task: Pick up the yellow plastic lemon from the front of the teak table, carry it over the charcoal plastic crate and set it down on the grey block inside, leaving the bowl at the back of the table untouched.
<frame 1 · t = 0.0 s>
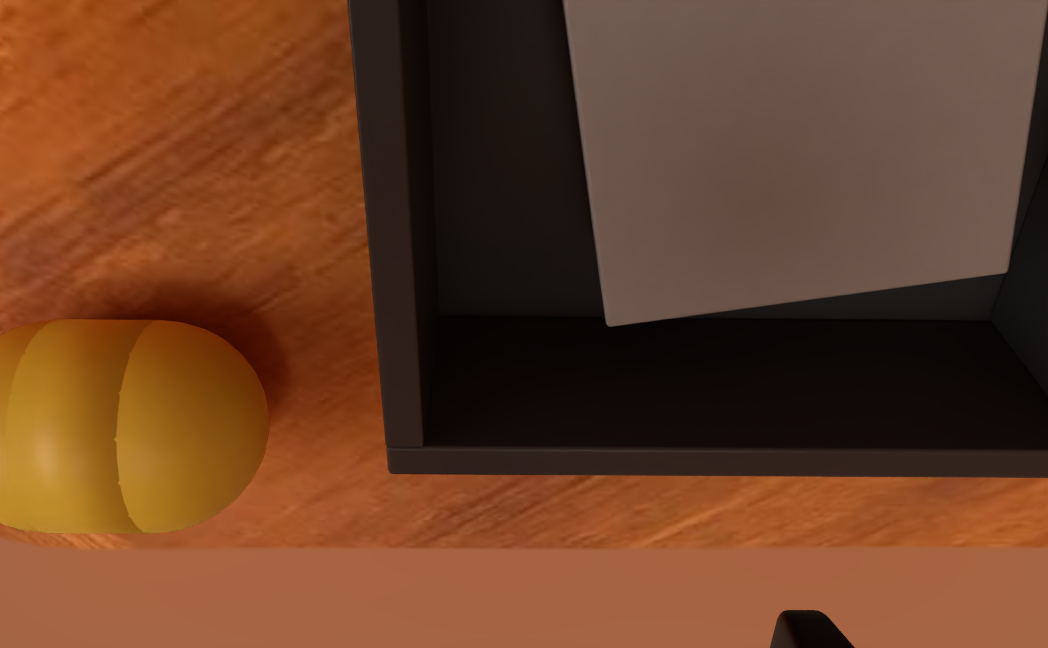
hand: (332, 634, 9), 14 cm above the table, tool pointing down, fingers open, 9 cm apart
grey block: (758, 43, 20), point 1 cm above the table, touching crate
crate: (752, 35, 21), on the table
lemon: (144, 362, 25), on the table
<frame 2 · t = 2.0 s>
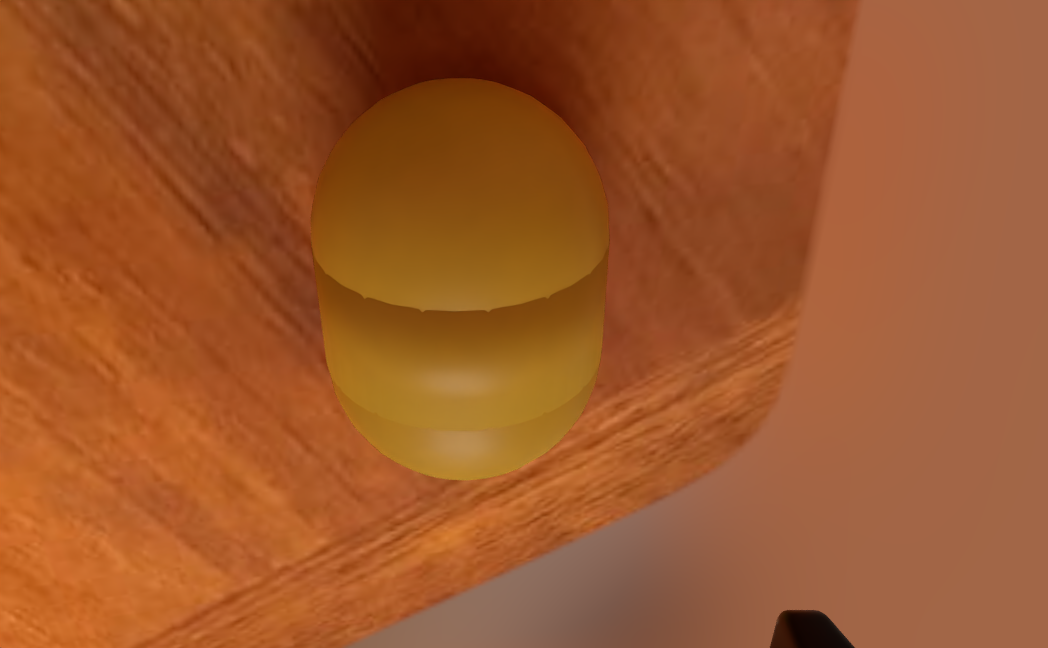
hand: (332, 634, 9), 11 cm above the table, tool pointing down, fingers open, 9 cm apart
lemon: (467, 221, 19), on the table
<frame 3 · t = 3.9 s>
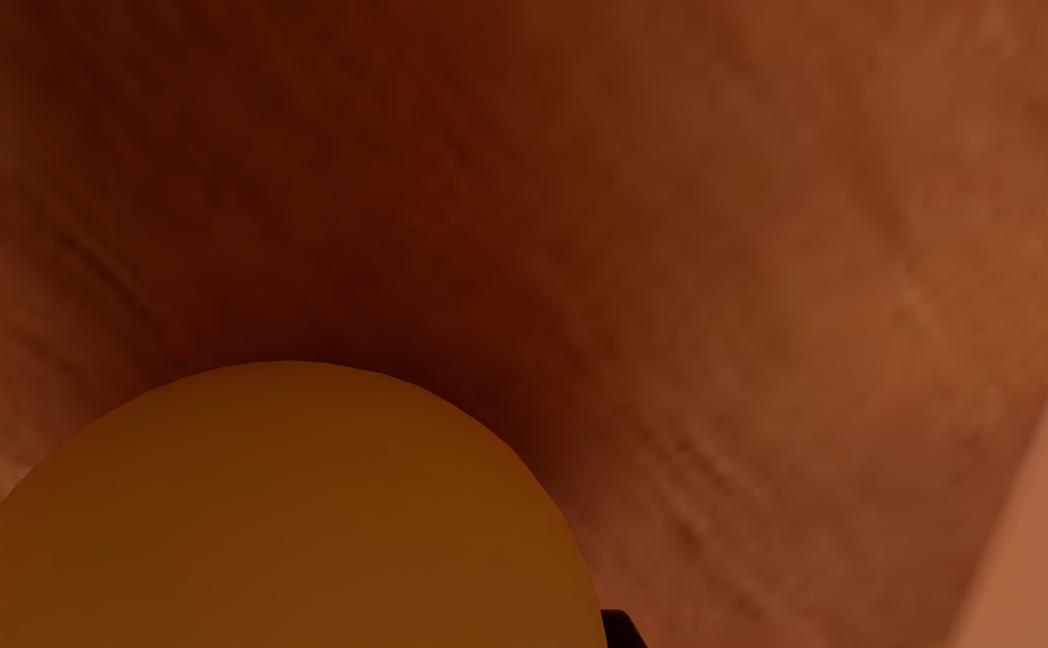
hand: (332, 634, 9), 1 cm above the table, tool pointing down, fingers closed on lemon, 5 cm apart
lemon: (347, 542, 10), on the table, touching gripper
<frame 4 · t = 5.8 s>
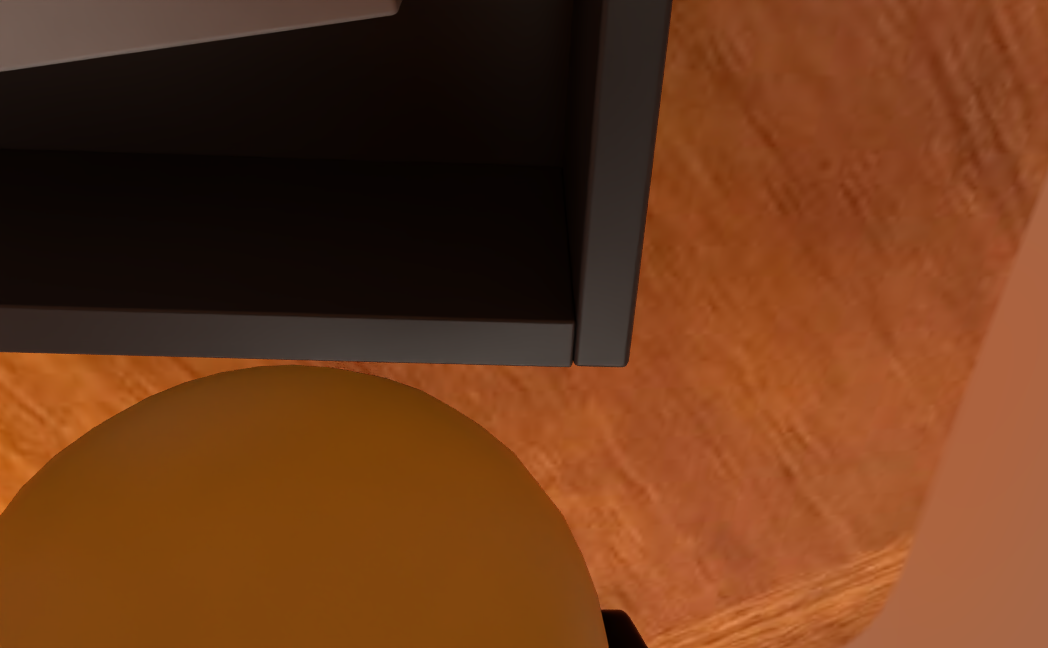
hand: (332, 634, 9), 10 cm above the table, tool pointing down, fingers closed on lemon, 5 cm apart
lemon: (349, 545, 10), point 9 cm above the table, touching gripper
when the fingers open (6 cm above the table, at t = 8.2 s): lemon stays where it is, resting on grey block.
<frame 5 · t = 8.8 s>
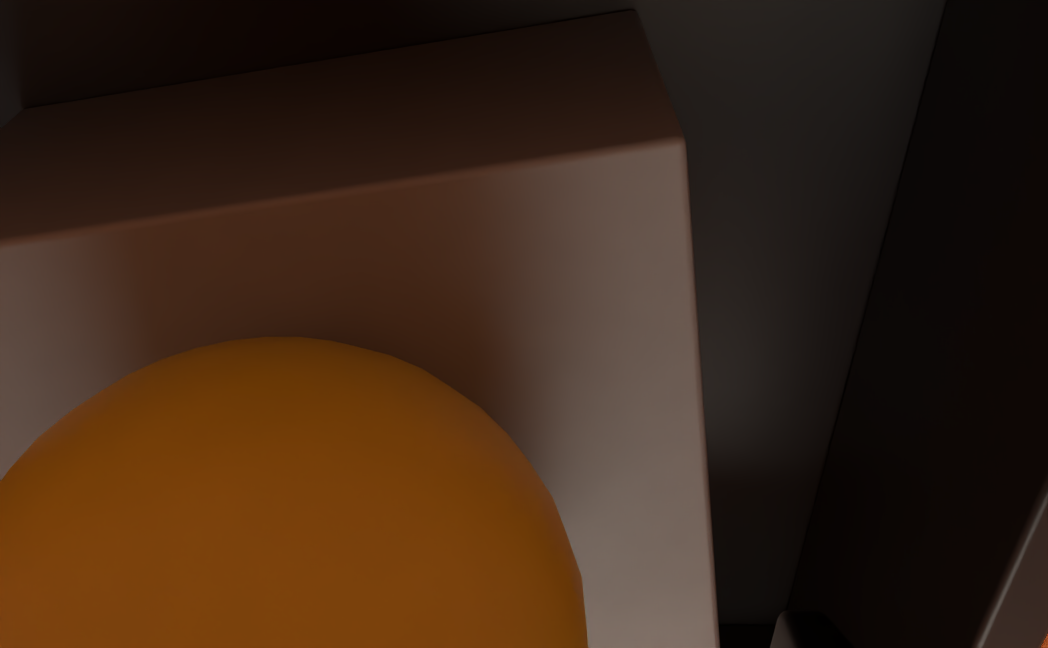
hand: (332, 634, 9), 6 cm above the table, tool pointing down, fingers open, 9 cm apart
grey block: (394, 318, 14), point 1 cm above the table, touching crate, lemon
crate: (398, 297, 15), on the table
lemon: (360, 519, 11), point 5 cm above the table, touching grey block
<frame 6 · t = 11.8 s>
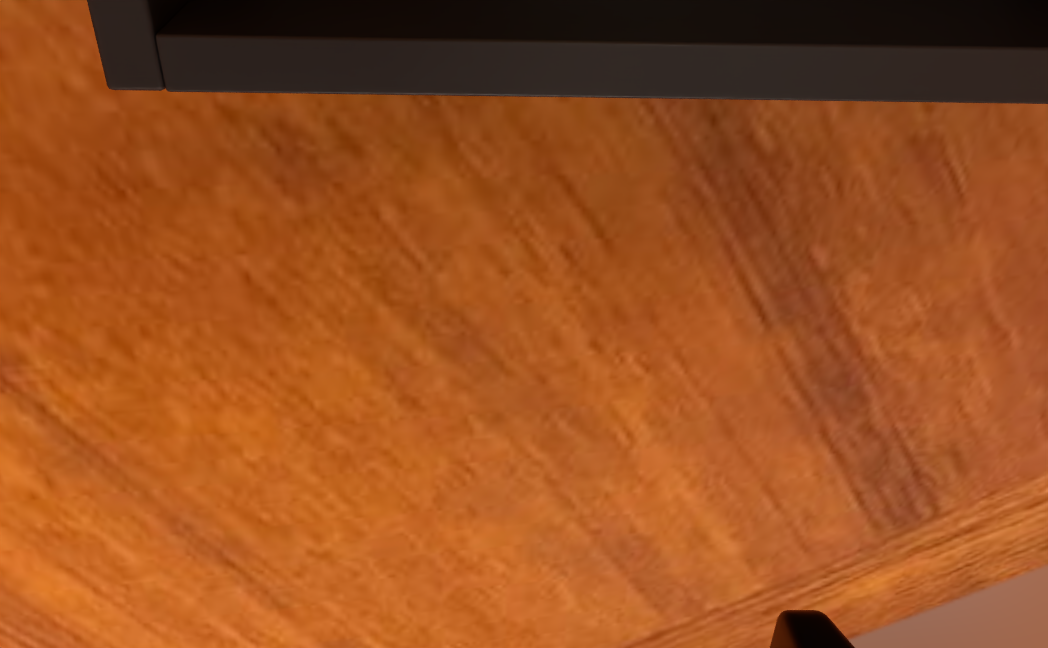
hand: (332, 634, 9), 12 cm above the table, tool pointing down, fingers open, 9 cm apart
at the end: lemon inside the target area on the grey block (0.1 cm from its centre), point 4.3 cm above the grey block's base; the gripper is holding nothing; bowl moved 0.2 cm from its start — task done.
